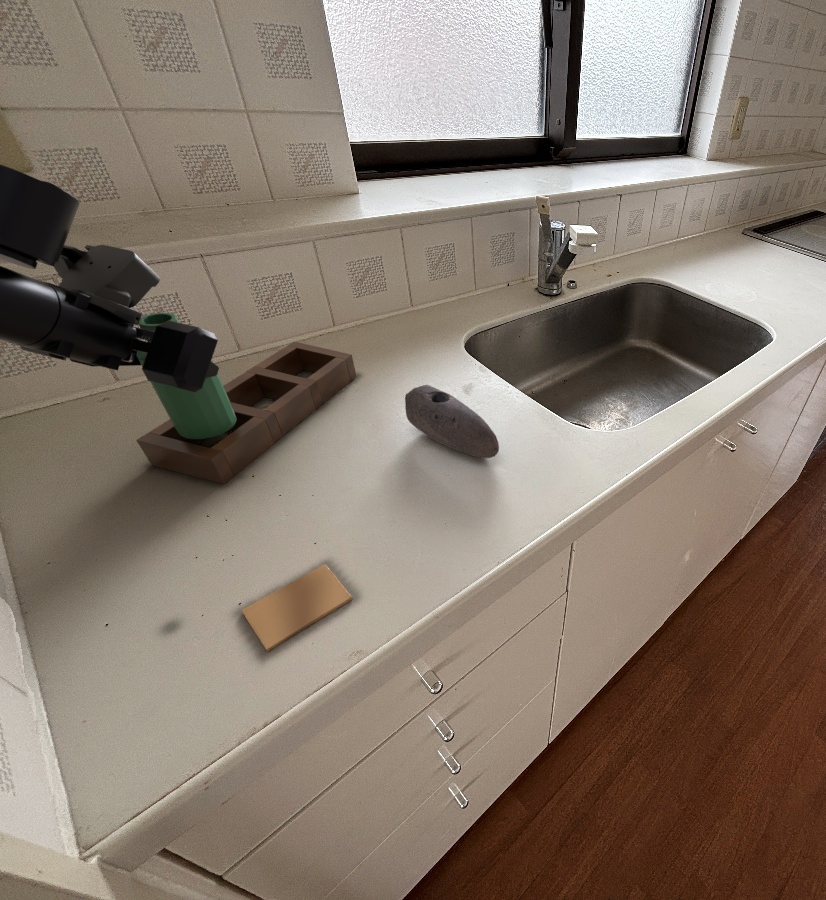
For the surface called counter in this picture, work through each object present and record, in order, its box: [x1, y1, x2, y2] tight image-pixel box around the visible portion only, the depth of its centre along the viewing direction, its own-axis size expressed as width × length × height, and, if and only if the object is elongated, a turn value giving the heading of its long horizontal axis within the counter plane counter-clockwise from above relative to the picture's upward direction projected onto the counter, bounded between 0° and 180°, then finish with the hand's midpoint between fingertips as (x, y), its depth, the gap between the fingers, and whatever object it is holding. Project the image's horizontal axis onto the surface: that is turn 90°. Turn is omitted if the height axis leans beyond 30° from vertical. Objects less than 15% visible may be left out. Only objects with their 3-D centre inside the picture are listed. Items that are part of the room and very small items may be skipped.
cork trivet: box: [241, 563, 353, 652], centre depth 49 cm, size 8×6×1 cm
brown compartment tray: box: [136, 341, 357, 485], centre depth 69 cm, size 27×10×4 cm, turn 167°
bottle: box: [136, 312, 236, 440], centre depth 57 cm, size 6×6×14 cm
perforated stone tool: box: [404, 384, 500, 459], centre depth 68 cm, size 15×5×7 cm, turn 58°
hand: (192, 365), depth 58 cm, fingers closed on bottle, 6 cm apart
